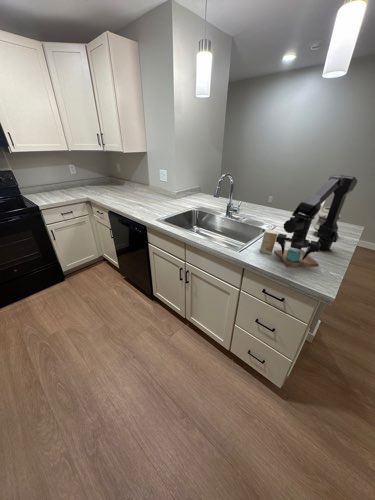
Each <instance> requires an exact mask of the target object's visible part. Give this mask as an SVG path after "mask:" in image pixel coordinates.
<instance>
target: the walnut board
mask: <svg viewBox="0 0 375 500" xmlns="http://www.w3.org/2000/svg"><path fill="white" fill-rule="evenodd" d="M287 251H288V249H285V250H284V254H283V255H282V249H279V250H278V249H277V250H276V249H273V253H274V254H275V255H276V257H277V258H278V259H279V260H280V261H281V262H282V263H283V264H284V265H285V266H286V267H287V268H288V267H290V268H291V267H319V265H320V264H319V263H318V262H317V261H316V260H315V259H314V258H313V257H311V256H310V254H308V255H307V256H306V258H305V259H304V260H302V259H303V256H304V254H305V252H306V251H304V249H301V250H299V251H301V255H300V258H299V261H296V262H292V261H289V260H287V258H286V254H287Z"/></svg>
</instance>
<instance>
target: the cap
mask: <svg viewBox="0 0 375 500" xmlns="http://www.w3.org/2000/svg"><path fill="white" fill-rule="evenodd" d="M287 250H288V251H287V254H286V258H287V259H289V260H291V261H299V258H300V255H301V251H299V250H298V249H295V248H291V247H290V248H288V249H287Z"/></svg>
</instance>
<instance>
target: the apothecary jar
mask: <svg viewBox="0 0 375 500" xmlns="http://www.w3.org/2000/svg"><path fill="white" fill-rule="evenodd" d="M329 209H330V206H325V207H324V206H323V208H322V210H321V211H319V213H318V215H319V219H318V221H317V223H315V224H314V225H313V229H314V230H315V231H314V232H313V233H312V235H313V236H314V237H316V238H318V239H319V237H317V231H318V229H319V226H320V225H322V224H323V223H324V222H325V221H326V218H327V215H328V212H329ZM341 217H342V215H341V213H340V214H339V217H338V220H340V219H341Z"/></svg>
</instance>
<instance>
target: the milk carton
mask: <svg viewBox="0 0 375 500" xmlns="http://www.w3.org/2000/svg"><path fill="white" fill-rule="evenodd" d="M325 202H326V200H325V201H324V202H323V203H322V204H321V209H320V210H319V211H321V210H322V209H323V208H324V205H325ZM318 213H319V212H318ZM318 213H317V214H316V215H315V219H312V222H311V225H313V226H314V224H315V223H317V222H318V219H319V215H318Z"/></svg>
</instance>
